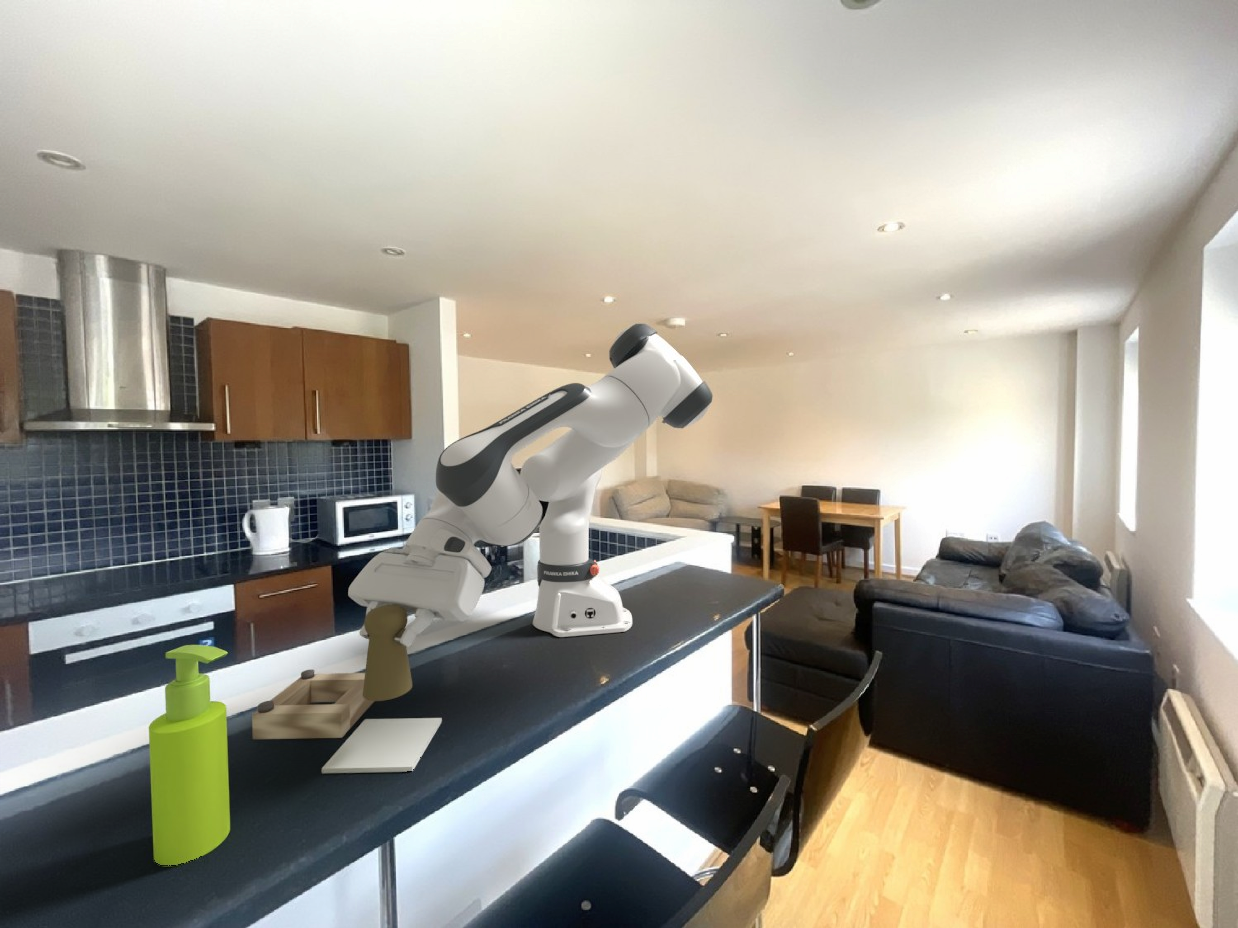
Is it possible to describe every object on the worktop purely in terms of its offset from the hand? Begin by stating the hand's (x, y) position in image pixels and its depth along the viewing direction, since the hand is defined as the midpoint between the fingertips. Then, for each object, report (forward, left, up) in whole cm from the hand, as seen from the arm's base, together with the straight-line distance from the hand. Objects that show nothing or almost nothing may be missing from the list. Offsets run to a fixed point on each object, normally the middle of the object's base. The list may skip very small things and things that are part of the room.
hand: (383, 640), depth 65 cm
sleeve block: (+13, -9, -14) cm, 21 cm away
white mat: (0, -1, -14) cm, 15 cm away
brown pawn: (0, 0, -7) cm, 7 cm away
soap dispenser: (+12, +15, -15) cm, 24 cm away
